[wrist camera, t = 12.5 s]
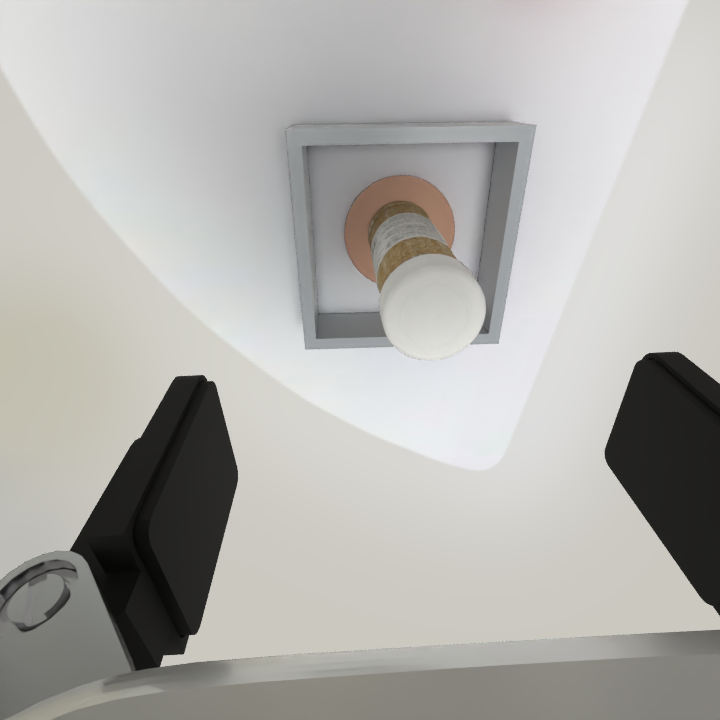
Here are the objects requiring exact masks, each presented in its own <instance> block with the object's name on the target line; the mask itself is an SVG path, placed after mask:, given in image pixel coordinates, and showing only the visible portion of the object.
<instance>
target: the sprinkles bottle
mask: <svg viewBox="0 0 720 720" xmlns="http://www.w3.org/2000/svg"><path fill="white" fill-rule="evenodd" d="M368 243H369V245H370V249H371V255H372V261H373V266H374V272H375V277H376V282H377V287H378V290H379V293H380V298H379V310H380V316H381V321H382V324H383V328H384V331H385V334H386V336H387V338H388V339H389V341H390V342H391V344H392V345H393V346H394V347H395V348H396V349H397V350H399V351H400V352H402V353H403V354H405V355H407V356H409V357H412V358H415V359H419V360H439V359H444V358H447V357H450V356H453V355H455V354H457V353H458V352H460V351H462V350H463V349H465V348H466V347H467V346H468V345H469V344H470V343H471V342H472V341H473V340H474V339H475V338H476V336H477V335H478V333H479V332H480V330H481V328H482V325H483V323H484V319H485V314H486V302H485V297H484V294H483V291H482V289H481V287H480V285H479V284H478V282H477V281H476V279H475V277H474V276H473V275H472V273H471V272H470V271H469V269H468V268H467V267H466V266H465V265H464V264H462V263H461V262H460V261H458V260H457V259H456V257H455V256H454V255H453V253H452V251H451V250H450V248H449V247H448V244H447V242H446V241H445V239H444V238H443V236H442V235H441V233H440V232H439V231H438V229H437V228H436V227H435V225H434V224H433V223H432V221H431V219H430V218H429V216H428V214H427V213H426V212H425V211H424V209H422V208H421V207H419V206H418V205H416V204H415V203H413V202H406V201H395V202H392V203H389V204H386V205H385V206H384V207H382V208H381V209H380V210H379V211H378V212H377V213H376V214H375V215H374V217H373V219H372V220H371V223H370V225H369V230H368Z"/></svg>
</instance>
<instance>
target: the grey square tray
mask: <svg viewBox="0 0 720 720" xmlns="http://www.w3.org/2000/svg"><path fill="white" fill-rule="evenodd" d="M535 129H536V125H532V124H526V123H520V122H513V121H497V122H439V123H382V124H324V125H292V126H290V127H289V128H287V129H286V142H287V153H288V164H289V175H290V186H291V197H292V208H293V219H294V230H295V241H296V252H297V263H298V274H299V286H300V297H301V308H302V319H303V330H304V341H305V349H335V348H368V347H394V346H393V345H392V344H391V342H390V341H389V339H388V338H387V336H386V334H385V331H384V328H383V324H382V321H381V316H380V312H373V313H338V314H318V299H317V285H316V270H315V256H314V241H313V227H312V212H311V198H310V183H309V168H308V154H307V146H318V145H372V144H426V143H480V142H496V147H495V155H494V162H493V170H492V177H491V185H490V192H489V200H488V208H487V215H486V223H485V230H484V238H483V245H482V253H481V260H480V268H479V275H478V284H479V285H480V287H481V289H482V291H483V294H484V297H485V302H486V314H485V319H484V323H483V325H482V328H481V330H480V332H479V333H478V335H477V336H476V338H475V339H474V340H473V341H472V342H471V343H470V344H499V338H500V332H501V326H502V320H503V315H504V309H505V303H506V297H507V291H508V286H509V280H510V274H511V268H512V262H513V257H514V251H515V245H516V239H517V234H518V228H519V222H520V216H521V210H522V205H523V199H524V193H525V187H526V181H527V176H528V170H529V164H530V158H531V152H532V147H533V141H534V135H535ZM395 201H406V202H413V203H415V204H416V205H418V206H419V207H421V208H422V209H424V211H425V212H426V213H427V214H428V216H429V218H430V219H431V221H432V223H433V224H434V225H435V227H436V228H437V229H438V231H439V232H440V233H441V235H442V236H443V238H444V239H445V241H446V242H447V244H448V247H449V248H450V250H451V247H452V244H453V240H454V232H455V225H454V217H453V213H452V210H451V208H450V205H449V203H448V202H447V200H446V198H445V197H444V196H443V194H442V193H441V192H440V191H439V190H438V189H437V188H436V187H434V186H433V185H432V184H430V183H429V182H427V181H425V180H423V179H420V178H417V177H413V176H406V175H398V176H391V177H387V178H384V179H381V180H379V181H377V182H375V183H373V184H371V185H370V186H369V187H367V188H366V189H365V190H364V191H363V192H362V193H361V194H360V195H359V196H358V197H357V199H356V200H355V201H354V203H353V205H352V206H351V209H350V211H349V213H348V216H347V219H346V225H345V244H346V248H347V252H348V254H349V257H350V259H351V261H352V262H353V264H354V265H355V267H356V268H357V269H358V270H359V271H360V272H361V273H362V274H363V275H364V276H365V277H366V278H368V279H370V280H371V281H373V282H376V277H375V272H374V266H373V261H372V255H371V249H370V245H369V243H368V230H369V225H370V223H371V220H372V219H373V217H374V215H375V214H376V213H377V212H378V211H379V210H380V209H381V208H382V207H384V206H385V205H386V204H389V203H392V202H395ZM376 283H377V282H376Z"/></svg>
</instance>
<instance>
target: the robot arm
mask: <svg viewBox="0 0 720 720" xmlns="http://www.w3.org/2000/svg"><path fill="white" fill-rule="evenodd" d="M605 459H606V462H607V464H608V466H609V467H610V469H611V470H612V471H613V473H614V474H615V476H616V477H617V479H618V480H619V481H620V483H621V484H622V486H623V487H624V489H625V490H626V491H627V493H628V494H629V496H630V497H631V499H632V500H633V501H634V503H635V504H636V506H637V507H638V509H639V510H640V511H641V513H642V514H643V516H644V517H645V519H646V520H647V521H648V523H649V524H650V526H651V527H652V528H653V530H654V531H655V533H656V534H657V536H658V537H659V539H660V540H661V541H662V543H663V544H664V546H665V547H666V548H667V550H668V551H669V553H670V554H671V556H672V557H673V559H674V560H675V561H676V563H677V564H678V565H679V567H680V569H681V570H682V571H683V573H684V574H685V576H686V577H687V579H688V580H689V581H690V583H691V584H692V586H693V587H694V589H695V590H696V591H697V593H698V594H699V596H700V597H701V598H702V599H703V600H704V601H705V602H706V603H707V604H709V605H712V606H713V607H714V608H715V610H716V611H717V613H718V614H719V615H720V384H719V383H718V382H717V381H715V380H714V379H713V378H711V377H710V376H709V375H708V374H707V373H705V372H704V371H703V370H701V369H700V368H699V367H698V366H696V365H695V364H694V363H693V362H691V361H690V360H689V359H688V358H686V357H685V356H684V355H682V354H681V353H679V352H664V353H663V352H662V353H649V354H647V355H645V356H644V357H643V359H642V360H640V361H638V362H637V363H636V365H635V367H634V370H633V372H632V375H631V378H630V381H629V383H628V386H627V389H626V392H625V395H624V397H623V401H622V403H621V406H620V409H619V412H618V414H617V417H616V420H615V423H614V425H613V429H612V431H611V434H610V437H609V440H608V442H607V445H606V448H605ZM237 482H238V470H237V465H236V461H235V457H234V454H233V450H232V446H231V442H230V438H229V434H228V430H227V427H226V423H225V419H224V415H223V411H222V407H221V403H220V399H219V396H218V392H217V388H216V385H215V383H214V382H213V381H207V379H206V378H205V376H203V375H197V376H178V377H175V379H174V380H173V382H172V383H171V385H170V387H169V389H168V391H167V392H166V394H165V396H164V398H163V400H162V401H161V403H160V405H159V406H158V408H157V410H156V412H155V414H154V415H153V417H152V419H151V420H150V422H149V424H148V426H147V428H146V429H145V431H144V433H143V435H142V436H141V438H139V439H137V440H135V441H134V443H133V444H132V445H131V446H130V448H129V450H128V452H127V453H126V455H125V457H124V458H123V460H122V462H121V464H120V465H119V467H118V469H117V470H116V472H115V474H114V476H113V477H112V479H111V481H110V482H109V484H108V486H107V488H106V490H105V491H104V493H103V494H102V496H101V498H100V500H99V501H98V503H97V505H96V506H95V508H94V510H93V512H92V513H91V515H90V517H89V518H88V520H87V522H86V524H85V526H84V527H83V529H82V531H81V532H80V534H79V536H78V537H77V539H76V541H75V543H74V544H73V546H72V548H71V549H70V551H55V552H51V553H47V554H42V555H40V556H38V557H35V558H33V559H31V560H29V561H26V562H24V563H23V564H21V565H20V566H18V567H17V568H16V569H14V570H12V571H11V572H9V573H8V574H7V575H6V576H5V577H4V578H3V579H1V580H0V720H720V630H707V631H688V632H669V633H648V634H631V635H612V636H594V637H576V638H558V639H541V640H524V641H508V642H507V641H506V642H489V643H471V644H456V645H455V644H454V645H438V646H422V647H405V648H390V649H375V650H374V649H373V650H358V651H341V652H326V653H309V654H294V655H282V656H269V657H257V658H245V659H232V660H219V661H207V662H196V663H188V664H181V665H173V666H165V667H160V665H161V661H162V658H163V655H178V654H184V652H185V648H186V644H187V641H188V637H189V635H195V634H196V633H197V632H198V630H199V627H200V624H201V621H202V617H203V613H204V609H205V605H206V601H207V598H208V593H209V590H210V586H211V582H212V579H213V575H214V571H215V567H216V563H217V559H218V555H219V551H220V548H221V544H222V540H223V536H224V532H225V529H226V525H227V521H228V517H229V513H230V509H231V506H232V502H233V498H234V494H235V490H236V487H237Z"/></svg>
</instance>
